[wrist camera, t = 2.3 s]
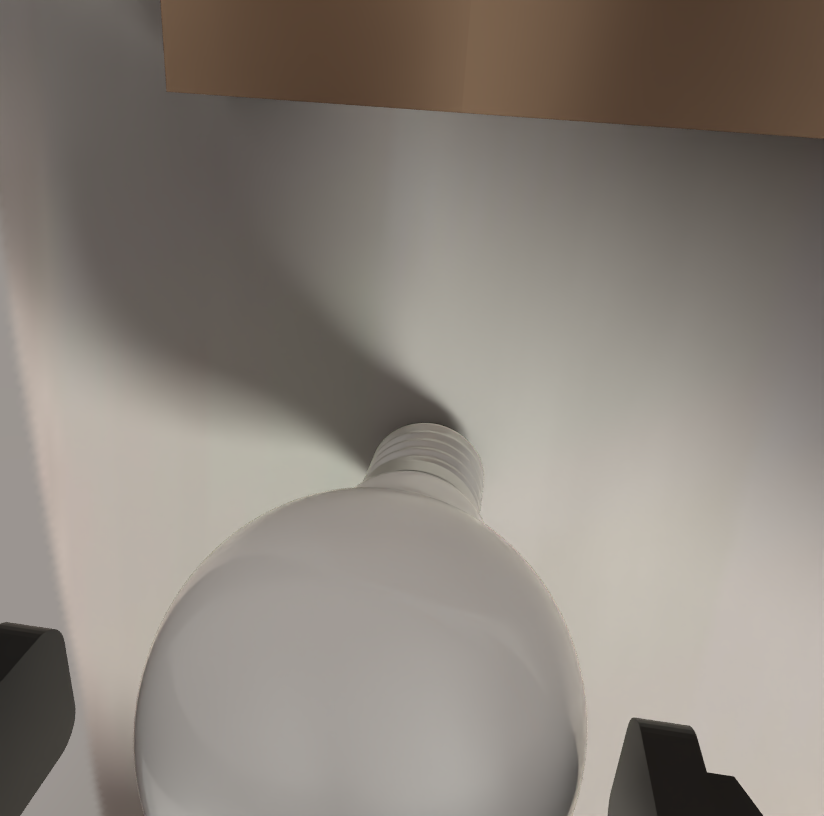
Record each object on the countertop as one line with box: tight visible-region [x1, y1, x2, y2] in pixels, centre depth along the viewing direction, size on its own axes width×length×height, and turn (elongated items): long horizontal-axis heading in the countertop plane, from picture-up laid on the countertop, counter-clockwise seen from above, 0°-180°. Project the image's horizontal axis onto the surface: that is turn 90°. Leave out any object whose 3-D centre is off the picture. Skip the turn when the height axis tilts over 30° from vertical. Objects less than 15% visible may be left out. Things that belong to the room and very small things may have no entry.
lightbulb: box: [133, 423, 587, 816], centre depth 13 cm, size 6×6×11 cm
